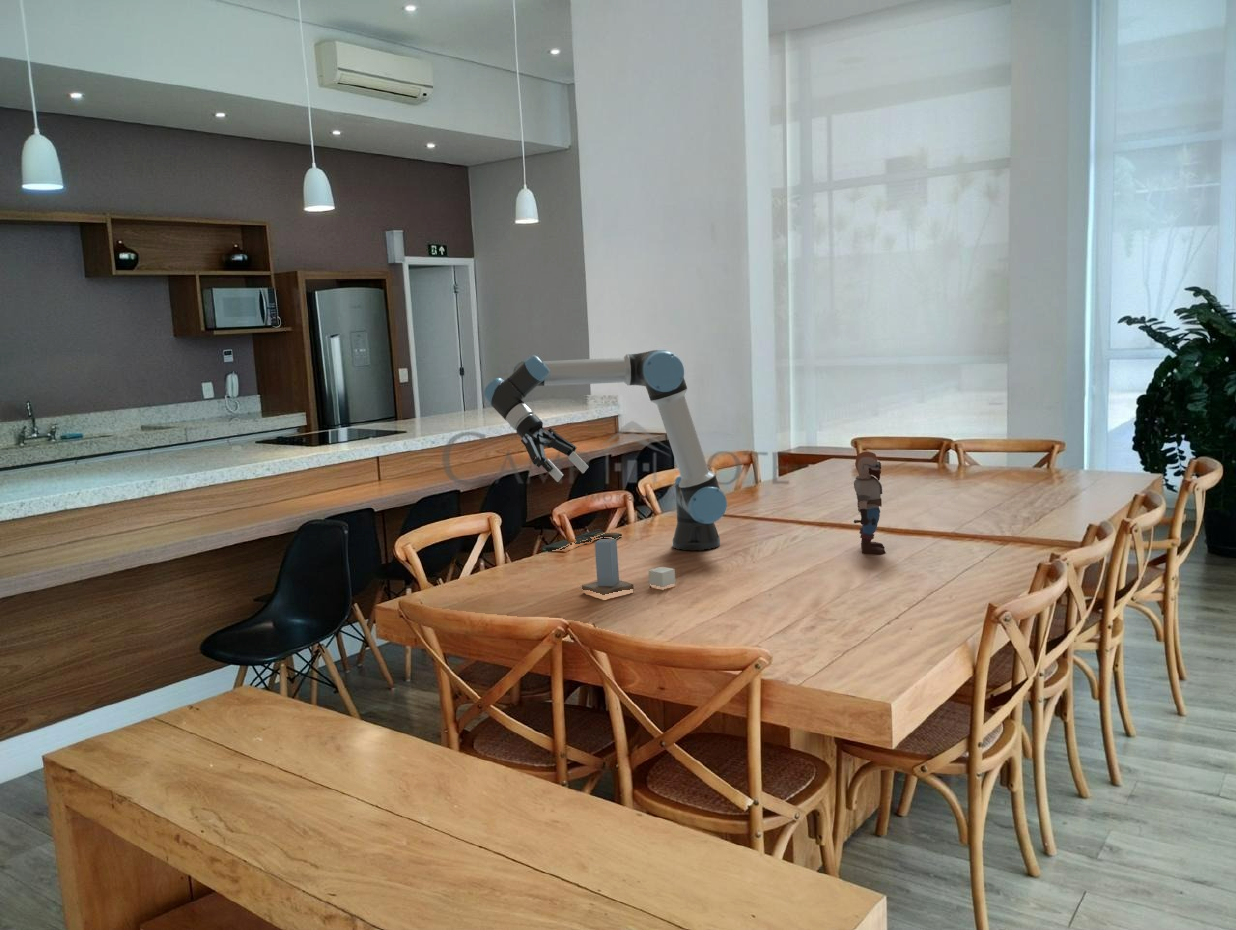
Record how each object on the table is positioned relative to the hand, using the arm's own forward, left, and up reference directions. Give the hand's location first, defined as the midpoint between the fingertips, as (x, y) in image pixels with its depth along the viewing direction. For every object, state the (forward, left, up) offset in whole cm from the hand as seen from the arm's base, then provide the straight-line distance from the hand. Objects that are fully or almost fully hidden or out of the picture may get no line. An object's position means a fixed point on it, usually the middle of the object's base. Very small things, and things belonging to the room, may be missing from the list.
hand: (573, 474), depth 279 cm
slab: (+4, +19, -31) cm, 37 cm away
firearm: (-26, -37, -31) cm, 55 cm away
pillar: (+3, +19, -28) cm, 34 cm away
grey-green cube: (-10, +25, -30) cm, 41 cm away
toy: (-78, +39, -31) cm, 93 cm away
